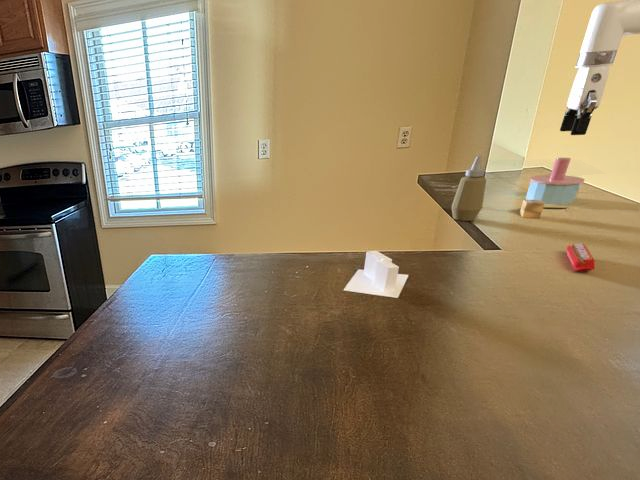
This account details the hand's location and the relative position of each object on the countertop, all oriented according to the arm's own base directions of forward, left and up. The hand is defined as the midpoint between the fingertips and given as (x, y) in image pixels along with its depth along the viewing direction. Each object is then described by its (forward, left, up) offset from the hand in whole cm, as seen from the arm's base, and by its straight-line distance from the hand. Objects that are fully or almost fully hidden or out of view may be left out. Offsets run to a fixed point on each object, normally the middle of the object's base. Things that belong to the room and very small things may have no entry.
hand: (571, 132), depth 132 cm
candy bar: (+3, +44, -23) cm, 50 cm away
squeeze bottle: (+22, +6, -23) cm, 32 cm away
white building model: (+45, +67, -23) cm, 83 cm away
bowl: (-4, -16, -23) cm, 29 cm away
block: (+4, 0, -23) cm, 23 cm away
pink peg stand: (-4, -16, -16) cm, 23 cm away
